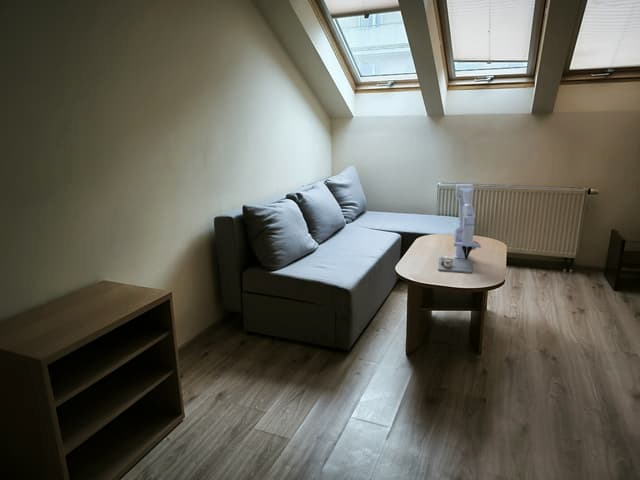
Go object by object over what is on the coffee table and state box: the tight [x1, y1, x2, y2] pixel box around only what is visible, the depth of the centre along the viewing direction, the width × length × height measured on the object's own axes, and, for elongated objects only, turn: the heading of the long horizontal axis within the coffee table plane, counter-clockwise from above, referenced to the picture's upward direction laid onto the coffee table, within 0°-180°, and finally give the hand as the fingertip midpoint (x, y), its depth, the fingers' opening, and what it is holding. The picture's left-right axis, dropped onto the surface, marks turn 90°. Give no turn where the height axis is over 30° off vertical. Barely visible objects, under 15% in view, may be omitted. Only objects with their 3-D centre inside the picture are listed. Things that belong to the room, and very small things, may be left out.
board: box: [437, 257, 473, 274], centre depth 257 cm, size 21×18×1 cm
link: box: [444, 254, 452, 268], centre depth 258 cm, size 18×4×3 cm, turn 164°
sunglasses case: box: [471, 239, 479, 251], centre depth 295 cm, size 18×7×7 cm, turn 156°
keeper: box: [440, 255, 454, 265], centre depth 256 cm, size 3×6×4 cm, turn 74°
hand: (466, 258), depth 259 cm, fingers closed
